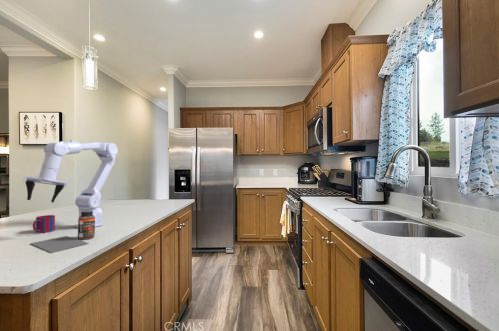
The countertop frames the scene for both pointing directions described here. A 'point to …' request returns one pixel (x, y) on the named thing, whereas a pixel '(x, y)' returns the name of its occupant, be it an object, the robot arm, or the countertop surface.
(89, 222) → the supplement bottle
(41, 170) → the robot arm
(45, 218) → the mug
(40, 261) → the countertop surface
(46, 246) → the mat
